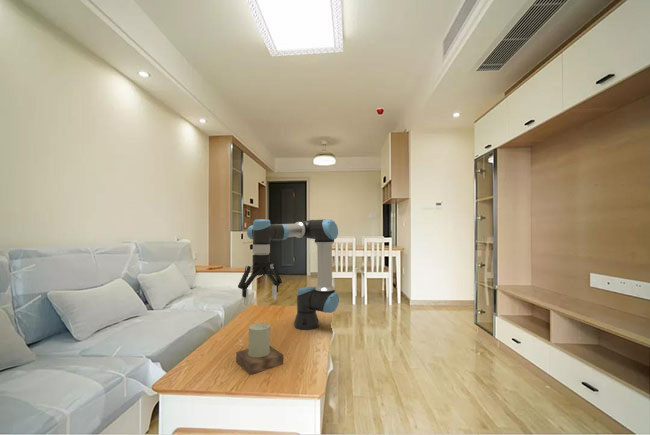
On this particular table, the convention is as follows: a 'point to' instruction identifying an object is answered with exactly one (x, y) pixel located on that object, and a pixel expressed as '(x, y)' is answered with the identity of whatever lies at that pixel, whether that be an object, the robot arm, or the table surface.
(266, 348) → the can
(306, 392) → the table surface
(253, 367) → the brown flat square block
